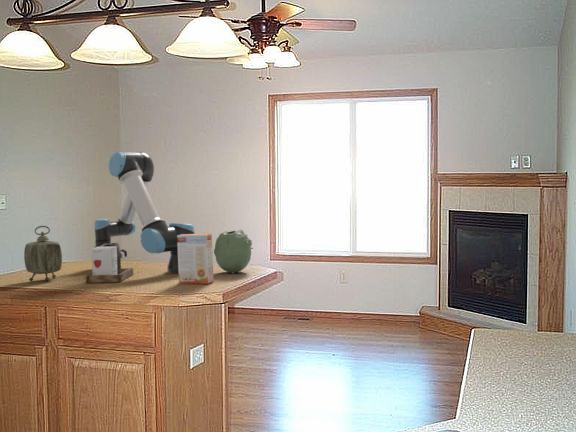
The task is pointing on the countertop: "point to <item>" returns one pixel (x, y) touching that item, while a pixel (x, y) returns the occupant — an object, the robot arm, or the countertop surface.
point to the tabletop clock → (42, 256)
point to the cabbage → (233, 251)
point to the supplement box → (104, 260)
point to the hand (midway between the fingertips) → (118, 256)
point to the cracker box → (195, 258)
